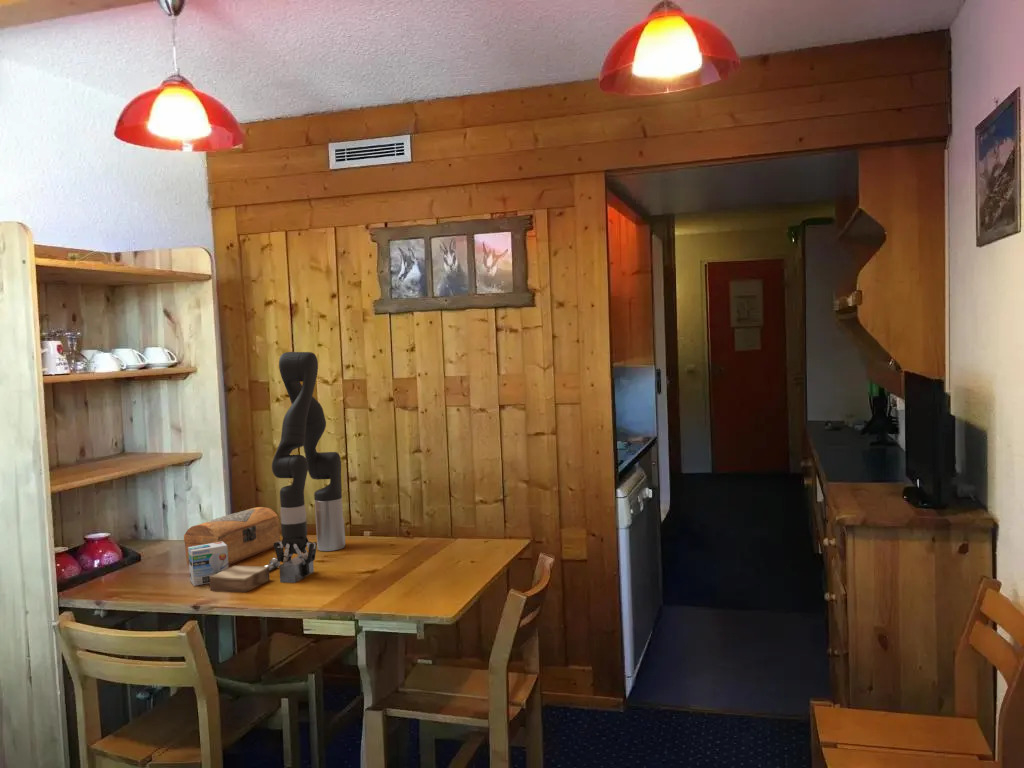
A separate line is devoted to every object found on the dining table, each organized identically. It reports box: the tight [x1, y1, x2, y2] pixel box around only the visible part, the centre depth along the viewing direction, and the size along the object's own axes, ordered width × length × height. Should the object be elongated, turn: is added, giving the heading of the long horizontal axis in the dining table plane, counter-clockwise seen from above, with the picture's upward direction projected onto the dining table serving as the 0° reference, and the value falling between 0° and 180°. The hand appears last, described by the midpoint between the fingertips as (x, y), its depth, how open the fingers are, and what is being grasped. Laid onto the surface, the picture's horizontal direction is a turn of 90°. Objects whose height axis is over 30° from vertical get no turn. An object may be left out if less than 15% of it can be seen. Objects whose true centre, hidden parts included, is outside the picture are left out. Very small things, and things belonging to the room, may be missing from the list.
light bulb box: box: [188, 541, 230, 587], centre depth 248 cm, size 11×7×11 cm, turn 122°
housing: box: [278, 555, 315, 584], centre depth 247 cm, size 11×5×5 cm, turn 164°
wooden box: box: [183, 506, 281, 566], centre depth 278 cm, size 30×16×14 cm, turn 156°
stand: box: [209, 565, 271, 593], centre depth 242 cm, size 12×12×4 cm
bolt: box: [263, 557, 281, 572], centre depth 256 cm, size 6×3×3 cm, turn 163°
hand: (297, 575), depth 247 cm, fingers closed on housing, 5 cm apart
